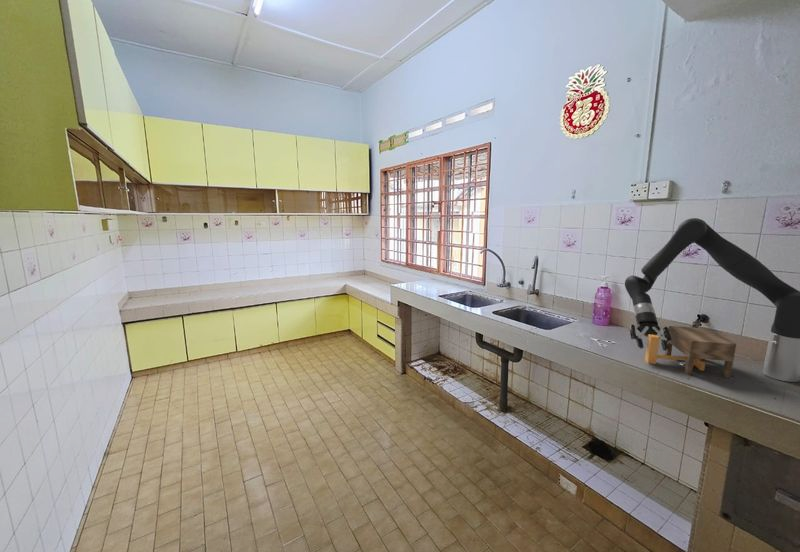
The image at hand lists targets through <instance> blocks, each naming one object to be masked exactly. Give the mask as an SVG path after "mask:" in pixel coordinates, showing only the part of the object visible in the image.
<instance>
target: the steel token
mask: <svg viewBox="0 0 800 552" xmlns="http://www.w3.org/2000/svg"><path fill="white" fill-rule="evenodd" d="M678 365H679V366H681V367H683V368H685V367H686V361H679V362H678ZM694 368H695V366H694V365H693V369H694Z"/></svg>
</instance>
